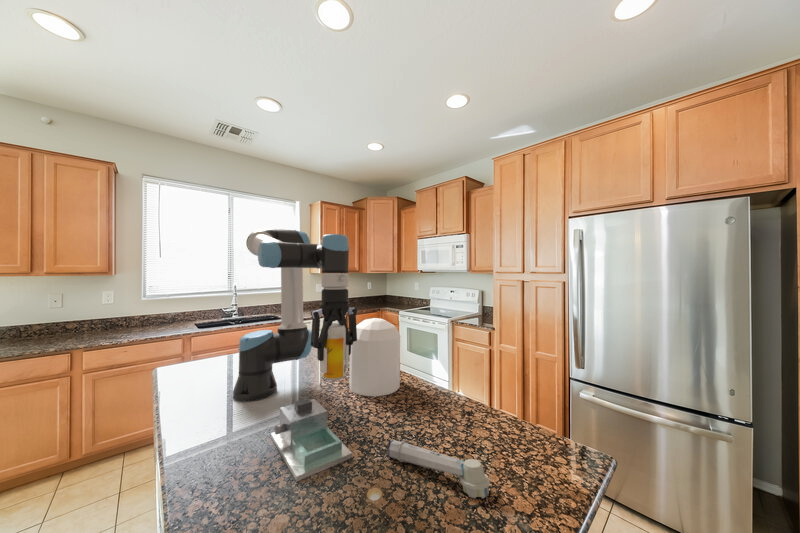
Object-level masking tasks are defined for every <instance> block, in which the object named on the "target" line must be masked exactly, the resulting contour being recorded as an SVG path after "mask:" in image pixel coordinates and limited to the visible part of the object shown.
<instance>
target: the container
mask: <svg viewBox="0 0 800 533" xmlns="http://www.w3.org/2000/svg"><path fill="white" fill-rule="evenodd" d="M356 328H357V341H354V342H353V344H352V345H351V354H350V355H349V368H348V369H349V370H348V371H349V373H348V374H349V377H348V378H349V382H348V383H349V385H348V386H349V389H350V392H353V393H354V394H356V395H358V396H359V395H360V396H365V397H383V396H386V395H391V394H393V393H395V392H397V391H398V389H400V387H401V386H400V385H401V333H400V332H399V331H398V329H397V327H396V326H395V325H394V324H393V323H391V322H389V321H388V320H386V319H383V318H380V317H373V318H366V319H364V320H362V321H361V322H359V323H358V324H356Z"/></svg>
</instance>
